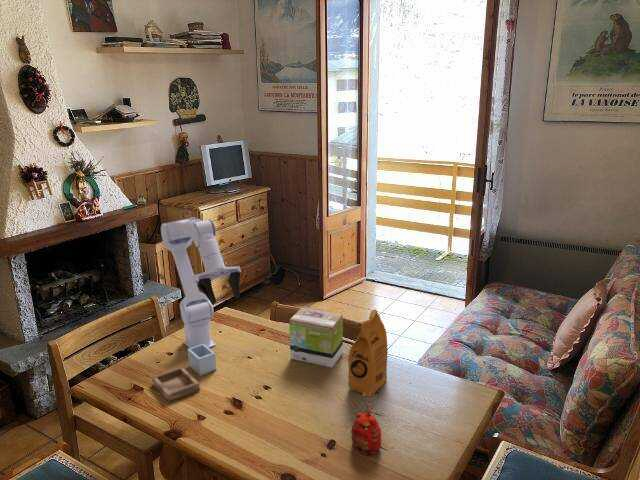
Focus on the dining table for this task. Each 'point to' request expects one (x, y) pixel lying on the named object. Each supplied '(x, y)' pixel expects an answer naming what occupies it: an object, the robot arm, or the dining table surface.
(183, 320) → the robot arm
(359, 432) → the red clay folk toy
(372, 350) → the coffee package
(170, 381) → the shallow brown tray
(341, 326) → the tea box
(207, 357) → the small crate
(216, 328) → the dining table surface
